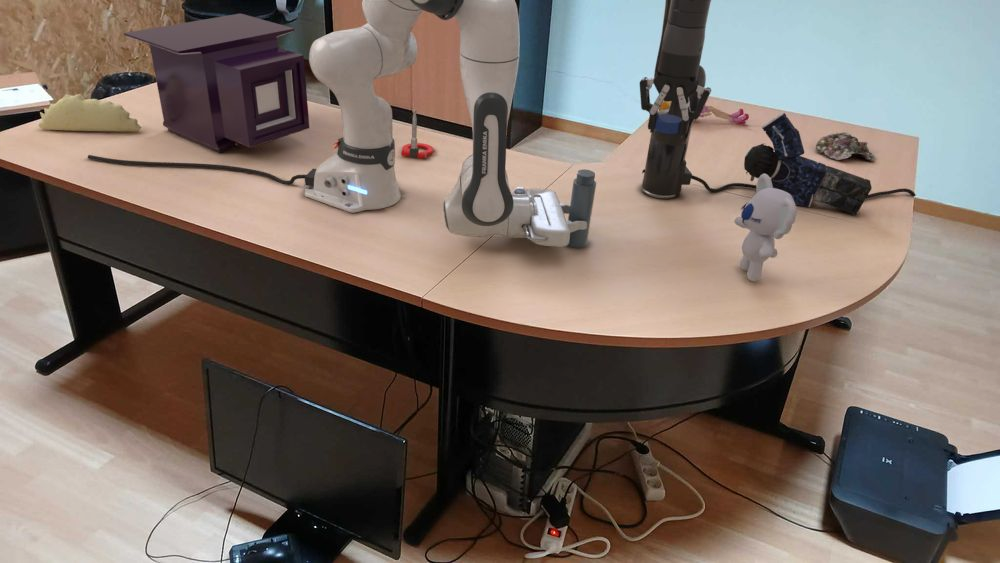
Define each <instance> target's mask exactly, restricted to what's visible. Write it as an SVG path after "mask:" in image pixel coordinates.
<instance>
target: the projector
mask: <svg viewBox="0 0 1000 563" xmlns="http://www.w3.org/2000/svg"><path fill="white" fill-rule="evenodd" d="M294 31H295V28H294V27H292V26H287V25H283V24H279V23H276V22H272V21H269V20H264V19H262V18H259V17H256V16H255V17H254V16H252V15H247V14H244V13H235V14H230V15H224V16H217V17H212V18H205V19H200V20H194V21H188V22H181V23H175V24H169V25H163V26H157V27H151V28H146V29H145V28H144V29H139V30H134V31H128V32H123V36H125V37H127V38H130V39H133V40H136V41H138V42H142V43H145V44H148V45H149V50H150V54H151V60H152V66H153V71H154V75H155V76H154V77H155V82H156V87H157V92H158V97H159V102H160V107H161V113H162V118H163V122H162V126H163V127H165V128H166V129H167V131H168V132H170V133H172V134H175V135H177V136H179V137H182V138H184V139H187V140H189V141H191V142H193V143H196V144H197V145H200V146H203V147H205V148H207V149H209V150H212V151H215V152H217V153H219V154H220V153H224V152H227V151H229V150H233V149H235V148H237V144H240V145H242V146H245V147H247V148H249V149H250V148H253V147H256V146H259V145H262V144H266V143H269V142H271V141H275V140H278V139H281V138H285V137H287V136H289V135H293V134H296V133H300V132H302V131H305V130H308V129H310V118H309V105H308V94H307V93H308V92H307V80H306V79H307V78H306V68H305V56H304V54H303V53H302V54H301V53H297V52H296V51H295V52H294V51H291V50H288V49H285V48H282V47H279V44H278V40H277V38H280V37H282V36H286V35H287V34H291V33H292V32H294Z"/></svg>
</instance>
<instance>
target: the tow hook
mask: <svg viewBox="0 0 1000 563" xmlns="http://www.w3.org/2000/svg"><path fill="white" fill-rule="evenodd" d="M411 123H412V124H411V138H410V143H407V144H404V145H402V147H401V154H400V155H401V156H402V157H409V158H414V159H418V158H419V159H427V157H428V156H430V155H432V154H433V153H434V152H435V151H434V147H433V146H432V145H430V144H427V143H421V142H418V138H417V133H418V132H417V131H418V129H417V128H418V116H417V109H416V108H414V109H413V110H412V118H411ZM420 148H421V149H425V150H423V151H419V150H420Z"/></svg>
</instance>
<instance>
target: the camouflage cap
mask: <svg viewBox="0 0 1000 563" xmlns="http://www.w3.org/2000/svg"><path fill="white" fill-rule="evenodd" d="M815 150H816V151H817V152H818V153H824V155H825V156H827V157H828V158H830V159H832V160H835V161H839V160H840V161H841V160H844V159H848V158H851V157H852V155H853V154H854V155H857V154H859V155H860V156H861V158H863V159H865V160H866V161H871V162H874V160H875V159H874V158H875V155H874V154H873V153H872V152H871V151H870V149H869V147H868V142H867V141H859V139H858V137H855V136H853V135H852V134H851V133H849V132H848V131H846V132H844V131H843V132H836V133H830V134H827V135H826V136H822V137H820V138H819V140H818V141H817V142H816V144H815ZM873 157H874V158H873Z"/></svg>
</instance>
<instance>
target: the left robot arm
mask: <svg viewBox="0 0 1000 563" xmlns="http://www.w3.org/2000/svg"><path fill="white" fill-rule="evenodd" d="M361 9H362V13H363V16H364V19H365V20H366V23H365V24H363V25H362V26H360V27H354V28H349V29H342V30H336V31H332V32H330V33H328V34H325V35H323V36H321V37H318V38H317V39H315V40H314V41H313V42H312V44H311V45H310V49H309V52H308V63H309V67H310V69H311V72H312V74H313V75H314V77H315V78H316V79H317V80H318V82H319V83H321V84H322V85H324V86H325V87H327V88H328V89H329V90H330V91H331V92H332V93H333V95H334V96H335V98H336V100H337V102H338V105H339V110H340V114H341V116H340V117H341V123H342V124H341V126H342V137H340V138H338V139H337V141H336V142H333V144H332V145H333V149H337V152H335V153H334V154H332V155H331V156H330V157H328V158H327V159H325V160H324V161H322V162H321V163H320V164H319V165H318V167H317V168H312V169H311V170H310V171H309V172H308V173H306V174H296V175H293V176H292V177H291V178H290V179H289V180H283V179H281V178H279V177H277V176H276V175H273V174H272V173H270V172H269V173H268V172H265V171H261V170H257V169H252V168H246V167H242V166H241V167H240V166H234V165H224V164H214V163H213V164H211V163H196V162H195V163H194V162H167V161H165V162H163V161H145V160H144V161H143V160H142V161H141V160H126V159H116V158H109V157H103V156H97V155H93V154H88V155H87V159H89V160H94V161H100V162H104V163H105V162H106V163H111V164H121V165H130V166H131V165H132V166H150V167H176V168H177V167H178V168H180V167H181V168H204V169H205V168H206V169H218V170H229V171H235V172H236V171H237V172H243V173H249V174H253V175H259V176H263V177H267V178H269V179H272V180H273V181H275V182H277V183H280V184H283V185H289V186H290V185H293V184H294V182H295V181H296V180H299V179H304V186H306V187H305V189H304V196H305V197H306V198H308V199H310V200H311V199H312V200H315V201H317V202H319V203H322V204H326V205H328V206H331V207H334V208H337V209H339V210H342V211H345V212H347V213H359V212H363V211H370V210H371V211H372V210H381V209H385V208H388V207H391V206H394V205H395V204H397V203H398V202H399V201H400V200H401V199H402V198H401V197H402V195H401V192H400V188H399V185H398V180H397V176H396V169H395V164H396V146H395V145H396V144H395V143H396V142H395V139H394V134H393V132H394V131H393V130H394V129H393V109H392V107H391V105H390V104H389V103H388V101H387V100H386V99H384V98H383V97H381V96H379V95H377V94H376V93H375V89H374V80H379V79H383V78H386V77H391V76H396V75H398V74H400V73H402V72H404V71H406V70H407V69H409V68H411V67H412V66H413V65H414V64H415V63H416V61H417V59H418V58H417V57H418V42H417V39H416V36H415V35H414V33H413V32H412V31H413V29H414V27H415V26H416V24H417V22H418V20H419V18H420V16H421V15H422V13H423V12H426V13H430V14H432V15H434V16H436V17H437V18H438V19H440V20H443V21H448V20H451V19H453V17H454V19H455V20H456V21H457V23H458V26H459V33H460V38H459V71H460V78H461V84H462V90H463V93H464V98H465V101H466V105H467V110H468V113H469V117H470V122H471V128H472V154H470V155H469V156H468V157H467V158H466V159H465V160H464V161H463V162H462V166H461V170H460V172H459V175H458V177H457V181H456V183H455V184H454V187H453V188H452V190H451V192H450V193H449V194H448V195H447V196H446V197H445V198H444V201H443V213H444V214H443V215H444V221H445V222H444V223H445V227H446V229H447V230H448V231H449V232H450V234H453V235H454V236H455V235H456V236H460V237H467V238H489V237H492V236H496V237H497V236H498V237H501V238H520V239H521V238H523V239H524V238H525V239H527V240H529V241H531V242H532V243H534V244H535V245H539V246H545V247H546V246H547V247H559V248H562V247H563V248H564V247H567V246H568V244H569V239H570V233H571V232H574V231H576V230H585V229H586V228H587V222H586V220H585V219H578V221H574V222H571V221H568V220H567V219H566V215H569V210H570V203H566V202H560V199H559V196H558V194H557V191H554V190H551V189H547V188H546V189H545V188H528V189H526V188H525V187H523V186H516V187H515V188H514V189H513V191H511V187H510V183H509V178H508V172H507V169H506V166H507V165H506V162H507V161H506V160H507V138H508V137H507V136H508V124H509V118H510V114H511V108H512V104H513V98H514V93H515V89H516V84H517V78H518V72H519V64H520V63H519V62H520V47H521V46H520V44H521V43H520V42H521V35H520V19H519V10H518V6H517V3H516V1H515V0H362V1H361ZM565 214H566V215H565Z"/></svg>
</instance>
